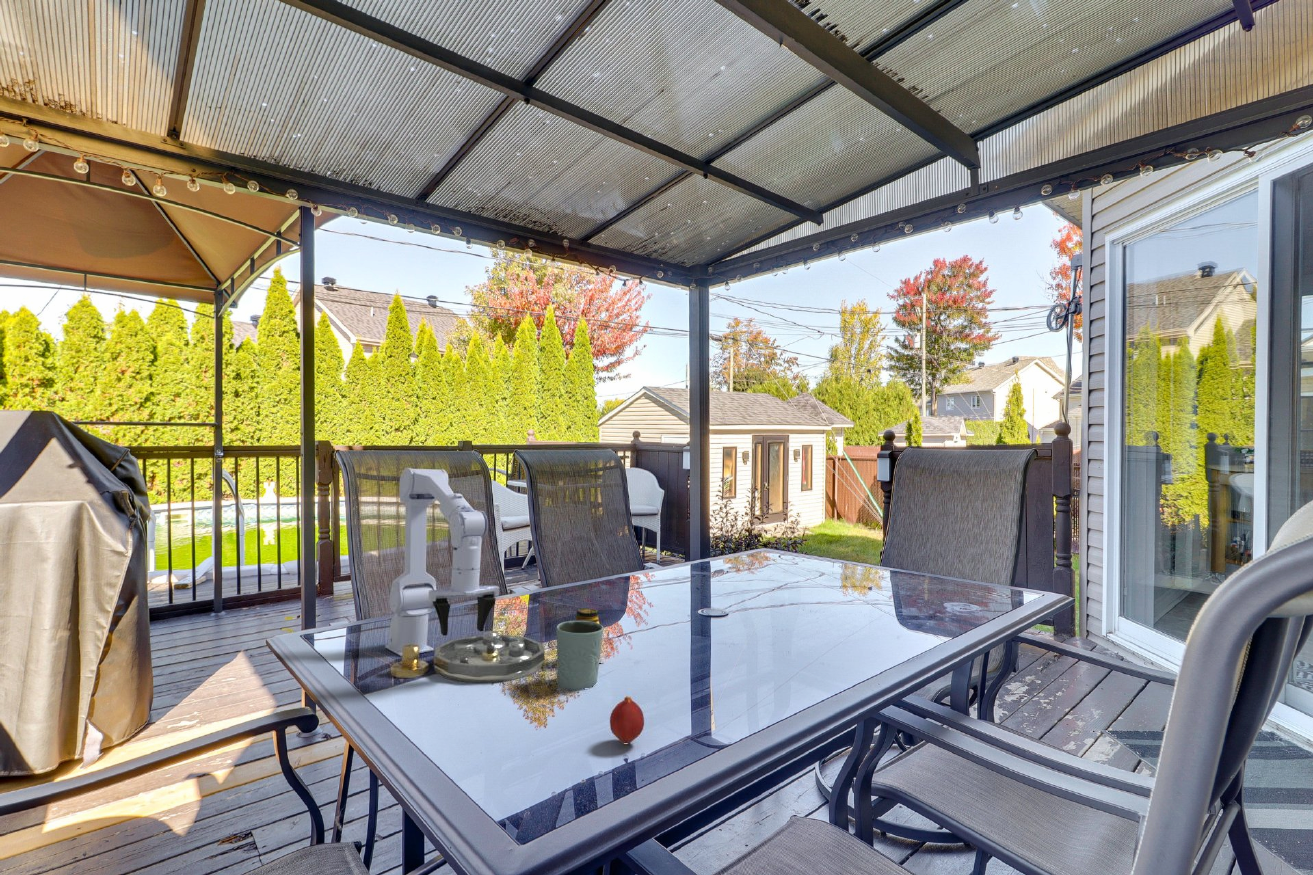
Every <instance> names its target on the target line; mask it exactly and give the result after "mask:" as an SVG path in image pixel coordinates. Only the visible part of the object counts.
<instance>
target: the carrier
mask: <svg viewBox="0 0 1313 875" xmlns="http://www.w3.org/2000/svg"><path fill="white" fill-rule="evenodd" d="M482 632H483V631H482ZM545 652H546V650H545V648H544V645H543V643H542V642H539V641H538V640H537V641H536V640H535V639H532V638H529V637H526V636H517V635H508V634H499V631H495V630H486V631H484V632H483V633H482V635H481V634H480V635H471V636H466V637H460V638H454V639H451V640H449V641H448V640H447V641H446V642H444V643H441V644H440V645H437V646H436V647H435V650H434V654H433V666H434V667H433V671H434V672H435V674H437V675H438V676H439V677H442V678H445V679H447V680H451V681H455V682H456V681H457V682H461V683H462V682H463V683H472V684H473V683H474V684H476V683H478V684H486V683H487V684H490V683H491V684H493V683H503V682H509V681H514V680H518V679H519V680H520V679H522V678H526V677H528V676H531V675H534V674H536V673H537V672H539V671H540V670H541V669H542V668H543V665H544V661H545V657H546V656H545V655H546V654H545Z"/></svg>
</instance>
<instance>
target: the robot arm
mask: <svg viewBox="0 0 1313 875" xmlns="http://www.w3.org/2000/svg"><path fill="white" fill-rule="evenodd" d="M399 501H400V503H402V504H405V511H404V512H405V518H404V526H405V527H404V530H405V531H404V571H403V573H401V574H400V575H399V576H398V577H396V578H395V579H394V580H393V581H392V582H391V583H392V584H391V588H390V589H391V590H390V593H389V600H388V601H389V607H390V609H391V611H392V612H393V616H392V618H391V619H390V626H389V642H388V644H386V645H385V648H386V649H387V650H390V651H391V652H392V653H395V654H396V655H399V656H400V657H402V651H403V646H405V645H410V644H416V645H419V654H421V653H422V654H423V653H427V652H432V651H434V648H433V647H431V646H430V645H428V643H427V642H428V630H429V629H428V628H429V614H430V613H432V610H433V609H434V610H435V611H436V614H437V617H438V618H437V619H438V622H439V625H440V626H439V627H440V633H441V635H442V636H448V632H449V616H450V610H451V604H450V603H449V601H448V600H455V599H456V600H458V599H468V598H469V599H470V598H476V599H477V600H476V601H477V621H476V629H477V631H479V632H483V631H485V630H484V629H485V625H486V621H487V618H488V616H489V614H490V612H491V610H492V608H493V607H494V605H495V604H496V597H499V595H500V586H498V585H480V576H481V575H480V573H481V560H482V558H481V557H482V556H481V555H482V543H483V542H482V540H483V538H484V537H486V535H487V532H488V528H489V521H488V517H487V514H486V513H485V511H483V510H477V509H476V510H475V509H474V508H473V507H472V506H471V505H470V504H469V502H468V501H467V500H466V499H465V498H464V495H463V494H461V493H456V492H455V493H454V492H453V489H451V486H450V484H449V474H448V473H447V471H446V470H445V469H443V468H439V469H435V468H433V469H428V468H411V467H406V468H404V470H403V471H402V473H401V476H400V478H399ZM436 501H437V502H438V503H439V512H440V513H441V514H442V515H443V517H444V518H445V519H446V521H447V522H448V523H449V524H448V526H449V528H448V529H449V533H450V538H451V539H450V543H451V546H452V547H453V548H452V549H453V550H452V551H453V552H452V564H451V565H452V567H451V581H450V582H451V584H450V587H445V588H440V589H439V588H438V589H437V582H436V578H435V577H433V576H432V575H431V574H429V573H428V572H427V532H428V531H427V522H428V520H427V516H428V512H427V511H428V507H429V506H430V504H433V503H435V502H436Z"/></svg>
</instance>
